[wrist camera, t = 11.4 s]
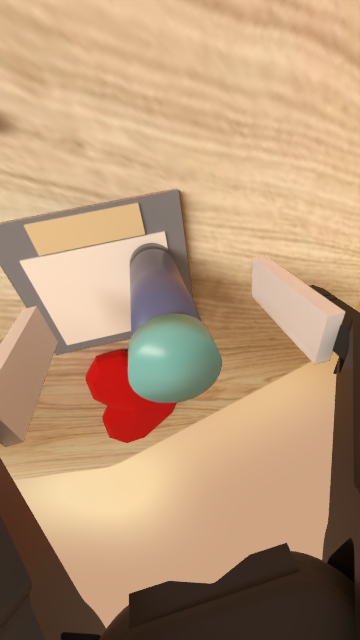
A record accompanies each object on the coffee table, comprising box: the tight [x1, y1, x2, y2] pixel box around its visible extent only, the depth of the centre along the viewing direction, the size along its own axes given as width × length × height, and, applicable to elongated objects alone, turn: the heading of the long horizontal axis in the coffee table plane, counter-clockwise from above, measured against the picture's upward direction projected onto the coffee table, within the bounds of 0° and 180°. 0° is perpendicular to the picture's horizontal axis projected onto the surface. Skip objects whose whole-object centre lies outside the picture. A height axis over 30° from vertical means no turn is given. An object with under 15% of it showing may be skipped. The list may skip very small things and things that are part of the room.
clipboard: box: [0, 189, 194, 355], centre depth 20 cm, size 14×12×1 cm
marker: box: [128, 243, 222, 403], centre depth 15 cm, size 4×4×12 cm
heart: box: [86, 350, 177, 443], centre depth 27 cm, size 12×4×10 cm
